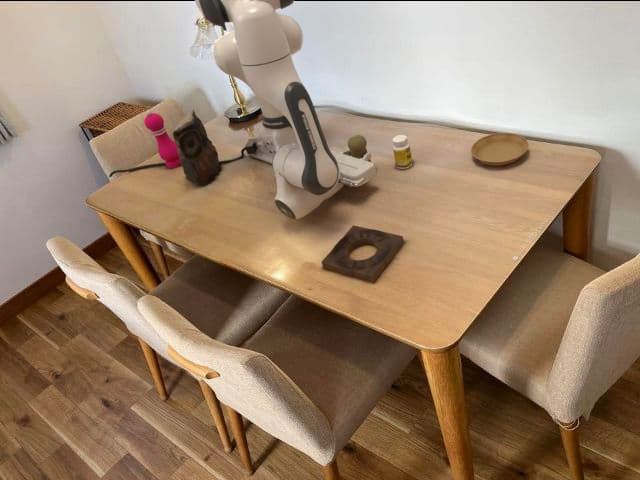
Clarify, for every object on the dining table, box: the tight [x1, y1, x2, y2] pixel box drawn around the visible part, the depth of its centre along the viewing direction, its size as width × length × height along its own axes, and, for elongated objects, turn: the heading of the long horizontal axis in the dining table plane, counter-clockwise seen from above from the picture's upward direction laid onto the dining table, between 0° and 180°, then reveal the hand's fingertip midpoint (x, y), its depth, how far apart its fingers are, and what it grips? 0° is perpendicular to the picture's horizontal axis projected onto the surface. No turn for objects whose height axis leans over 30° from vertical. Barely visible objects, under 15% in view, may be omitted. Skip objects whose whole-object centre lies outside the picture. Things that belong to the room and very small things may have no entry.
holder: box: [321, 224, 405, 283], centre depth 116 cm, size 14×14×2 cm
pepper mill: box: [143, 109, 181, 169], centre depth 168 cm, size 7×7×20 cm
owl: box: [172, 109, 222, 187], centre depth 156 cm, size 13×13×20 cm
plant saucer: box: [470, 132, 530, 167], centre depth 134 cm, size 15×15×3 cm
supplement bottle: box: [392, 134, 413, 170], centre depth 139 cm, size 5×5×8 cm
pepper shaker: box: [347, 134, 372, 162], centre depth 140 cm, size 6×6×11 cm
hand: (361, 152), depth 140 cm, fingers open, 4 cm apart
